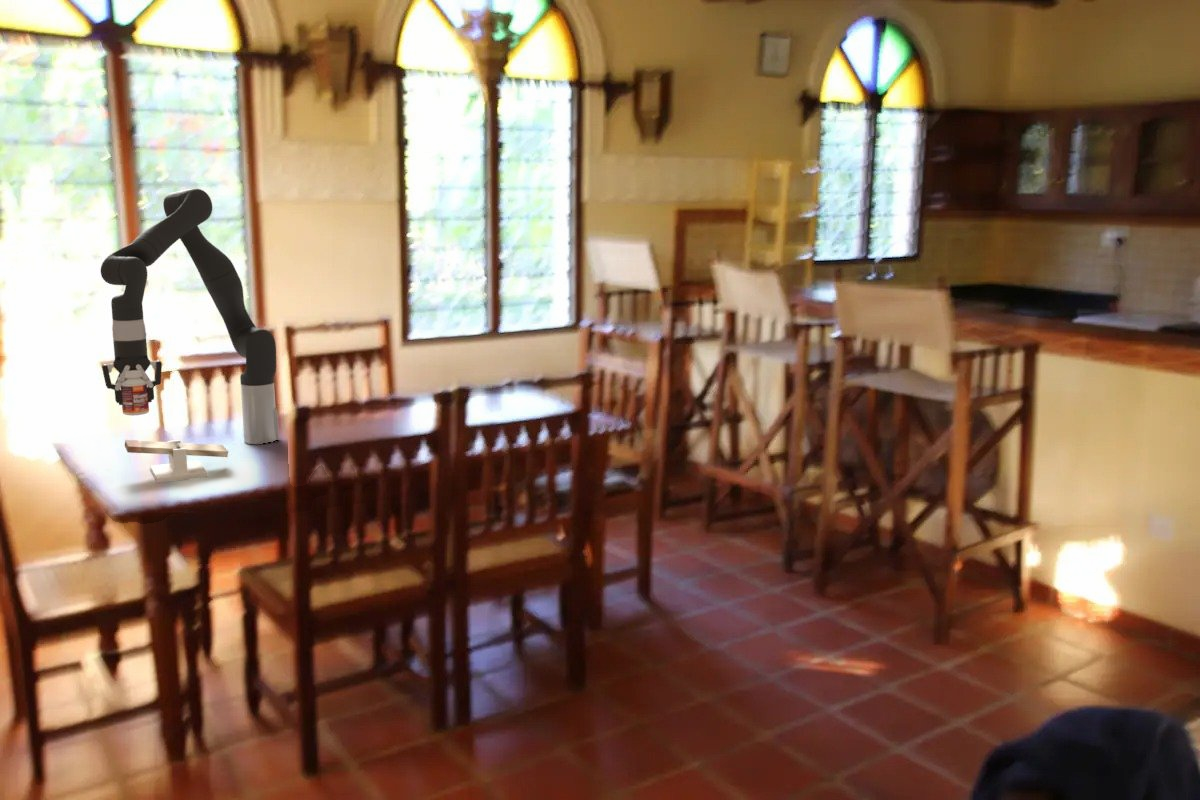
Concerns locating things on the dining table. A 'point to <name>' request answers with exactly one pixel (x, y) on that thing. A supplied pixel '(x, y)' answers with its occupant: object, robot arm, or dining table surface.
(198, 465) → the pivot stand
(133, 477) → the dining table surface
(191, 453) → the board
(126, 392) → the pill bottle
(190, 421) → the dining table surface
